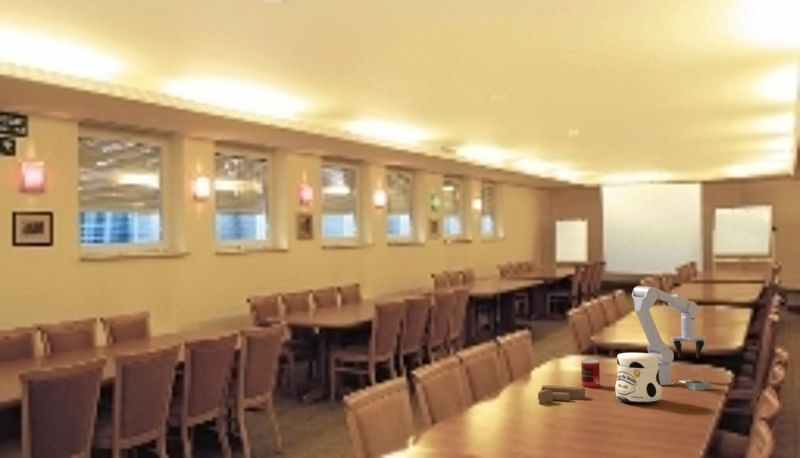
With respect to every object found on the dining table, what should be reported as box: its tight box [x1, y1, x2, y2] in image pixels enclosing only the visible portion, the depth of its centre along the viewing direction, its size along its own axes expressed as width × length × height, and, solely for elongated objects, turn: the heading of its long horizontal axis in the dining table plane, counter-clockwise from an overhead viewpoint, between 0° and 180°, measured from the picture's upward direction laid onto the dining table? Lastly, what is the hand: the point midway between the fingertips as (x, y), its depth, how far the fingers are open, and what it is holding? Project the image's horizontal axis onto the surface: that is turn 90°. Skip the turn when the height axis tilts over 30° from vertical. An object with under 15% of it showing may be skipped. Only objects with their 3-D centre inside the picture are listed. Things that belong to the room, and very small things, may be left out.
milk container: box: [614, 352, 663, 405], centre depth 277 cm, size 17×17×18 cm
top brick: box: [689, 367, 705, 381], centre depth 300 cm, size 4×4×5 cm
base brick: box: [684, 380, 711, 391], centre depth 299 cm, size 7×7×3 cm
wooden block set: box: [537, 384, 586, 405], centre depth 280 cm, size 17×6×18 cm
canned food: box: [580, 358, 601, 389], centre depth 307 cm, size 8×8×11 cm
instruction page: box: [678, 379, 691, 385], centre depth 309 cm, size 7×10×1 cm
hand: (689, 357), depth 316 cm, fingers open, 7 cm apart
